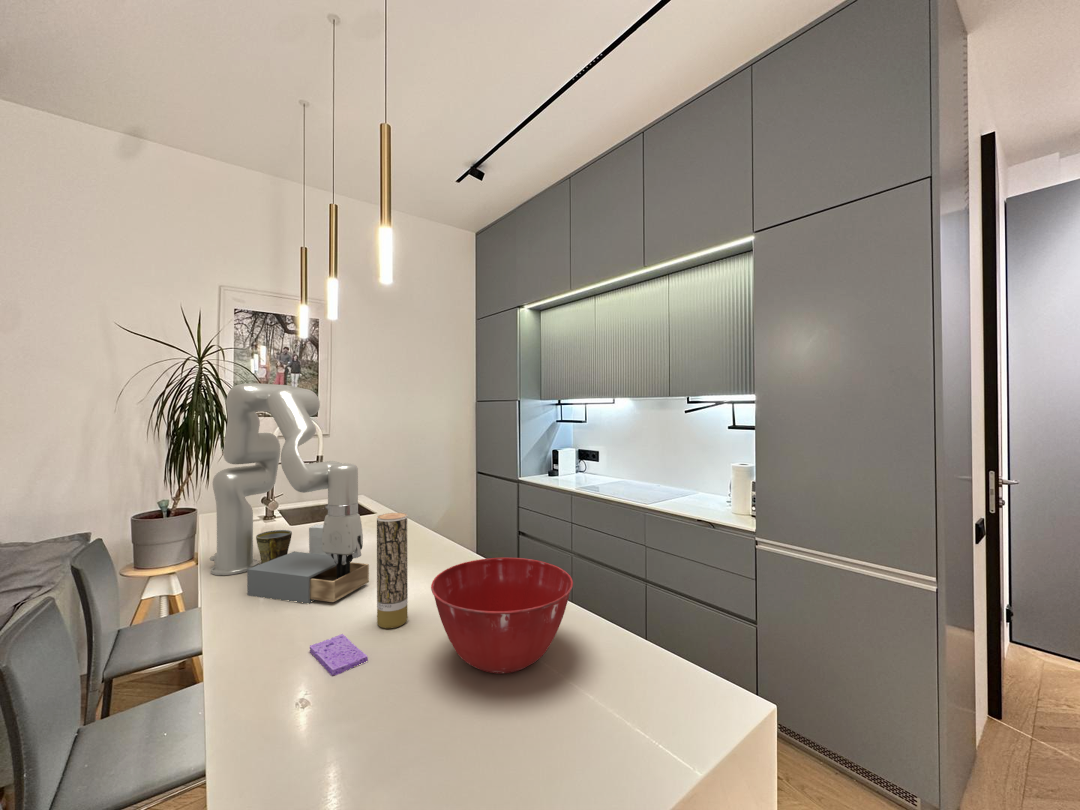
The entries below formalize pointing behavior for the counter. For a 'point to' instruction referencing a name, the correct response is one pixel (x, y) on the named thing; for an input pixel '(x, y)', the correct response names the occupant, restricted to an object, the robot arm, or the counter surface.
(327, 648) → the sponges
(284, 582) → the sleeve
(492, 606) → the mixing bowl
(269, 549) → the ceramic cup
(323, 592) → the tray
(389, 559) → the paper tube
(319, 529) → the skincare box
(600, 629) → the counter surface
